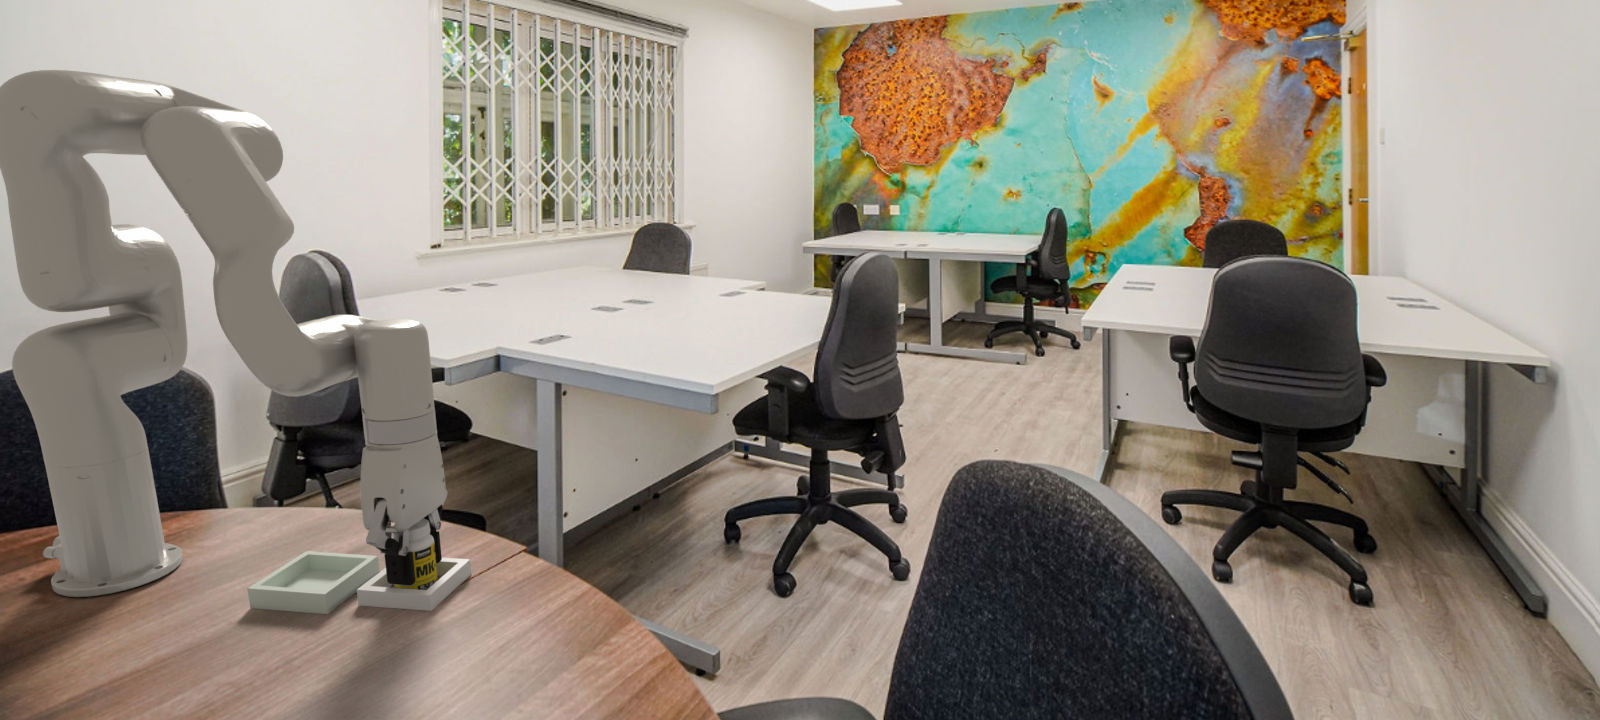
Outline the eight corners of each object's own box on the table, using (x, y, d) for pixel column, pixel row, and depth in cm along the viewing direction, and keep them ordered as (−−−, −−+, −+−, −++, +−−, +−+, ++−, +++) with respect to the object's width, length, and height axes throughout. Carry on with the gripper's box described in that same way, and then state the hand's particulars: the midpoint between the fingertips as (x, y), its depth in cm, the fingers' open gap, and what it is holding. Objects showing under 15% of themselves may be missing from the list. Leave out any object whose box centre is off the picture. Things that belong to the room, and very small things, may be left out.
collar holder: (358, 605, 95) (356, 589, 95) (404, 569, 104) (402, 554, 103) (431, 611, 94) (429, 595, 93) (471, 574, 103) (470, 559, 102)
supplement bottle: (421, 601, 96) (415, 534, 94) (386, 596, 97) (378, 531, 95) (446, 581, 101) (440, 518, 99) (412, 577, 102) (406, 514, 100)
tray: (250, 608, 94) (247, 588, 94) (309, 569, 103) (306, 551, 103) (327, 614, 93) (324, 594, 92) (379, 574, 102) (377, 556, 102)
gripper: (413, 405, 103) (426, 539, 107) (319, 449, 86) (339, 606, 91) (469, 408, 102) (480, 543, 106) (386, 453, 86) (402, 611, 90)
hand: (415, 570), depth 98 cm, fingers closed on supplement bottle, 4 cm apart
